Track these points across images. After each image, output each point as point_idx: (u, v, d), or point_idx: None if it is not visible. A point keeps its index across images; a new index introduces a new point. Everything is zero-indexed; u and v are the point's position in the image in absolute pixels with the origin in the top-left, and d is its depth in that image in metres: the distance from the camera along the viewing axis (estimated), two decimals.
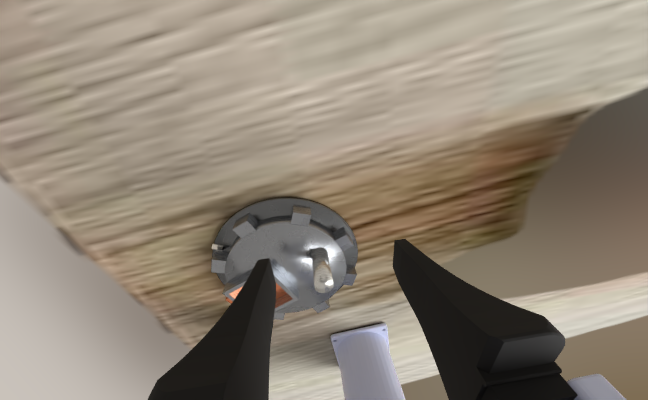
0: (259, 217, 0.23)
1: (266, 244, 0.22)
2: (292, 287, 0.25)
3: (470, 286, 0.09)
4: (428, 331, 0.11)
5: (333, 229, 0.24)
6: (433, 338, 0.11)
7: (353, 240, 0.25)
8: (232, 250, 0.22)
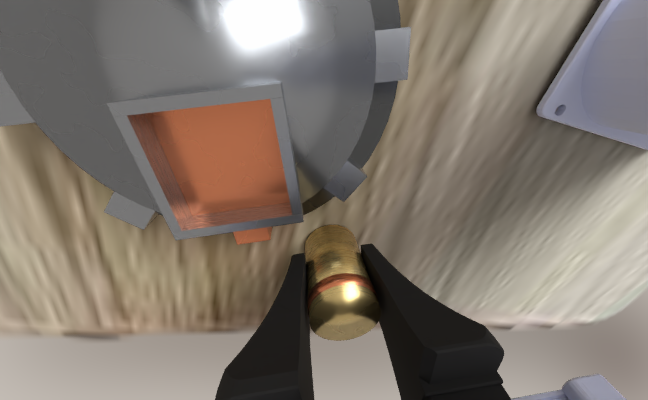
0: None
1: (62, 71, 0.08)
2: (246, 86, 0.08)
3: (423, 293, 0.09)
4: (387, 338, 0.11)
5: None
6: (390, 345, 0.11)
7: None
8: (77, 161, 0.09)
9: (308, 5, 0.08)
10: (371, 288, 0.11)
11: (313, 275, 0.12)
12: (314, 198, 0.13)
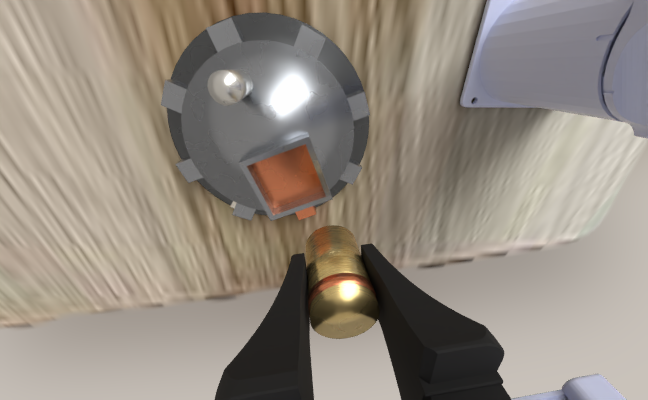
0: None
1: (214, 152, 0.17)
2: (293, 139, 0.17)
3: (423, 293, 0.09)
4: (387, 338, 0.11)
5: None
6: (391, 345, 0.11)
7: (250, 17, 0.15)
8: (220, 191, 0.19)
9: (313, 97, 0.16)
10: (369, 286, 0.11)
11: (312, 276, 0.12)
12: (336, 186, 0.22)
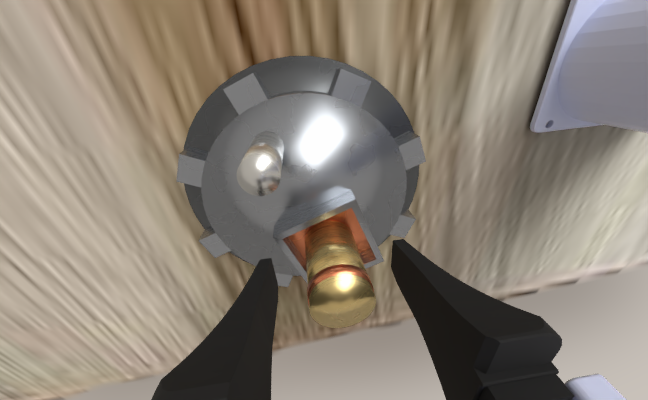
0: None
1: (242, 224, 0.15)
2: (334, 201, 0.14)
3: (467, 286, 0.09)
4: (426, 331, 0.11)
5: None
6: (431, 338, 0.11)
7: (273, 64, 0.12)
8: (251, 262, 0.16)
9: (357, 150, 0.13)
10: (365, 277, 0.12)
11: (311, 269, 0.13)
12: None
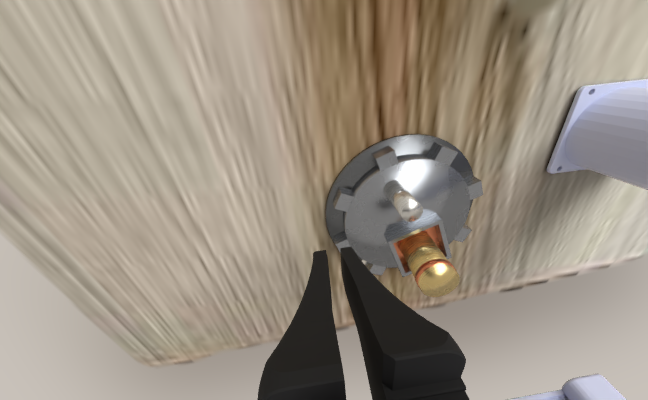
0: (341, 227, 0.25)
1: (364, 233, 0.23)
2: (426, 219, 0.22)
3: (393, 298, 0.09)
4: (362, 342, 0.11)
5: (374, 162, 0.22)
6: (364, 350, 0.10)
7: (396, 140, 0.21)
8: (363, 258, 0.25)
9: (443, 189, 0.22)
10: (452, 266, 0.20)
11: (416, 262, 0.21)
12: None
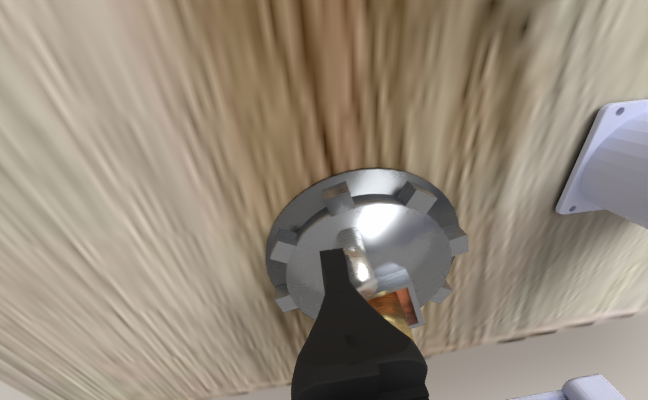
0: None
1: (312, 290, 0.18)
2: (392, 278, 0.17)
3: (364, 302, 0.09)
4: None
5: (322, 204, 0.16)
6: None
7: (349, 175, 0.15)
8: (312, 317, 0.19)
9: (416, 243, 0.16)
10: None
11: None
12: None
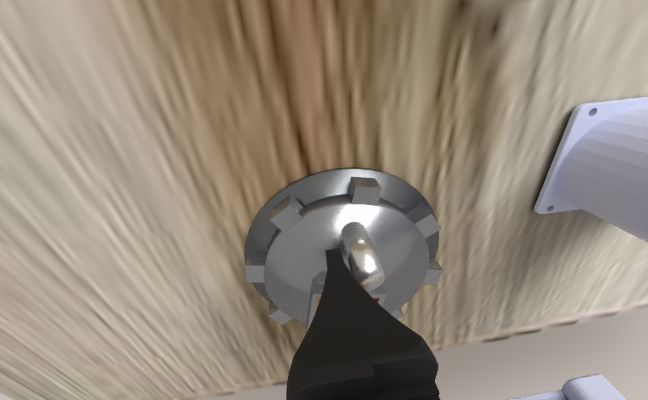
0: None
1: (289, 269, 0.17)
2: None
3: (372, 301, 0.09)
4: None
5: None
6: None
7: (325, 175, 0.15)
8: (271, 297, 0.18)
9: (403, 261, 0.17)
10: None
11: None
12: None
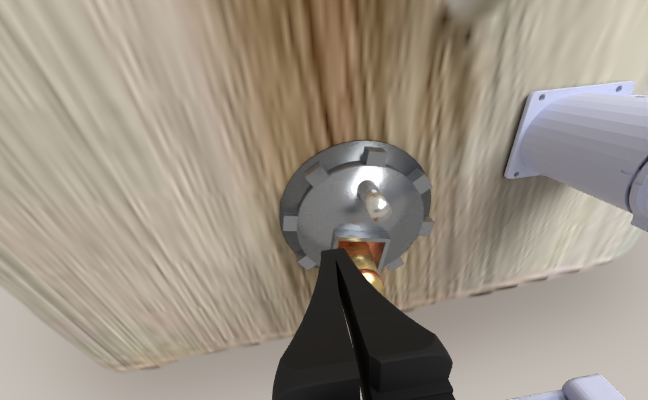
0: None
1: (317, 219, 0.22)
2: (376, 233, 0.23)
3: (383, 299, 0.09)
4: (353, 343, 0.11)
5: None
6: (355, 351, 0.10)
7: (345, 146, 0.21)
8: (301, 244, 0.23)
9: (404, 213, 0.22)
10: (378, 277, 0.19)
11: None
12: None
